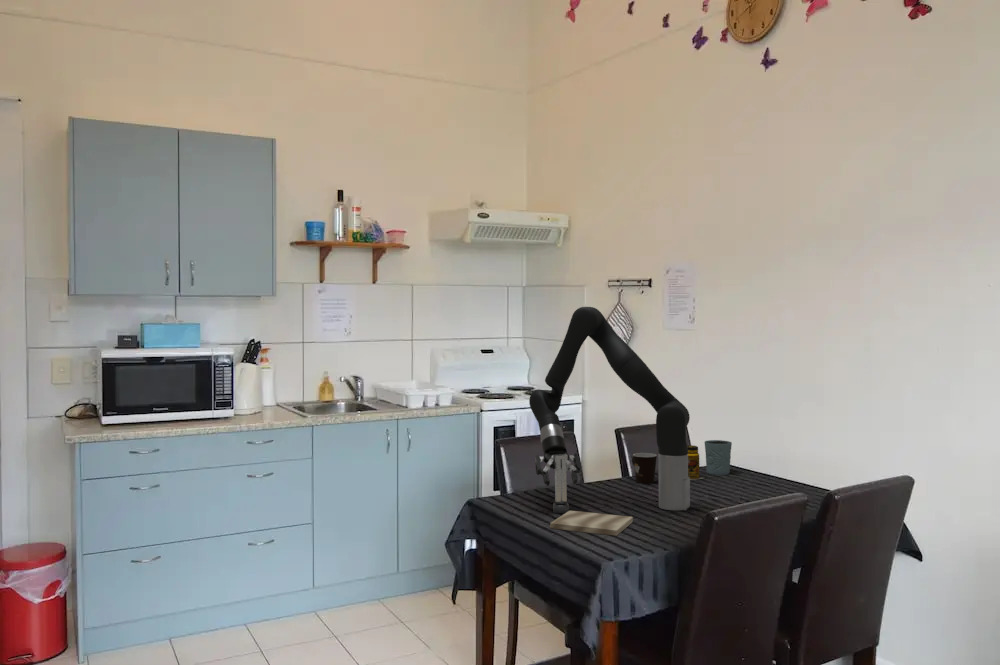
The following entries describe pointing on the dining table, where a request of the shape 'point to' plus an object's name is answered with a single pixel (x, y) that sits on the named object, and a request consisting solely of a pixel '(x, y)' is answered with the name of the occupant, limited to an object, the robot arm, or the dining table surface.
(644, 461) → the coffee mug
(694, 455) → the condiment
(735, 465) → the dining table surface
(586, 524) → the birch board
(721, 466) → the teal embossed plant pot
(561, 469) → the grey pillar block
